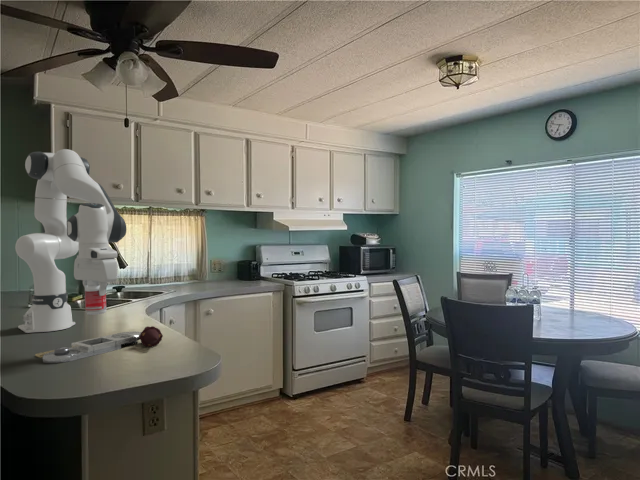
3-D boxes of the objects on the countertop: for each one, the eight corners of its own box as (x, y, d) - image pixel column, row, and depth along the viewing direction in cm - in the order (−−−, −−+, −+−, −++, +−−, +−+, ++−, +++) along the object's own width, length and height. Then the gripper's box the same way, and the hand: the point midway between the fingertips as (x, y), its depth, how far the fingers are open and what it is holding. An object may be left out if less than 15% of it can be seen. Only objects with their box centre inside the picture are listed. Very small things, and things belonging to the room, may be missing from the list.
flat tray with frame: (52, 365, 132) (52, 355, 132) (36, 360, 138) (36, 350, 137) (148, 341, 158) (148, 333, 158) (132, 338, 164) (131, 330, 164)
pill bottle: (107, 313, 147) (106, 279, 147) (86, 315, 144) (85, 281, 143) (105, 310, 152) (103, 277, 152) (84, 312, 149) (83, 279, 148)
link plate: (39, 359, 141) (39, 355, 141) (35, 357, 142) (35, 353, 142) (66, 353, 147) (66, 349, 147) (62, 351, 149) (61, 348, 149)
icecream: (170, 329, 149) (158, 325, 161) (147, 326, 145) (136, 323, 157) (165, 350, 147) (154, 345, 160) (142, 348, 143) (132, 343, 156)
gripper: (67, 252, 151) (69, 293, 151) (101, 253, 139) (102, 298, 139) (86, 251, 156) (87, 291, 156) (120, 252, 144) (121, 295, 144)
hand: (95, 294), depth 148 cm, fingers closed on pill bottle, 6 cm apart
